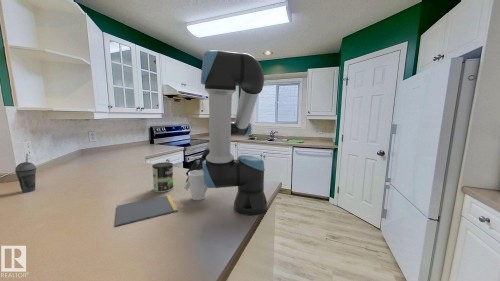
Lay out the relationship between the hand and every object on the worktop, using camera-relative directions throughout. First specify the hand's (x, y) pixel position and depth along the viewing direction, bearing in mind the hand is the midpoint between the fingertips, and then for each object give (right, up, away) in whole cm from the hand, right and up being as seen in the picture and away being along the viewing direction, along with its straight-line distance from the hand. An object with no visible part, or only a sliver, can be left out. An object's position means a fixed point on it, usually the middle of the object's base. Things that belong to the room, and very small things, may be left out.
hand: (194, 190), depth 92 cm
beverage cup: (-91, -3, +8) cm, 91 cm away
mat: (-18, -6, -9) cm, 21 cm away
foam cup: (+1, -5, +4) cm, 6 cm away
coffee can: (-21, -3, +14) cm, 26 cm away
